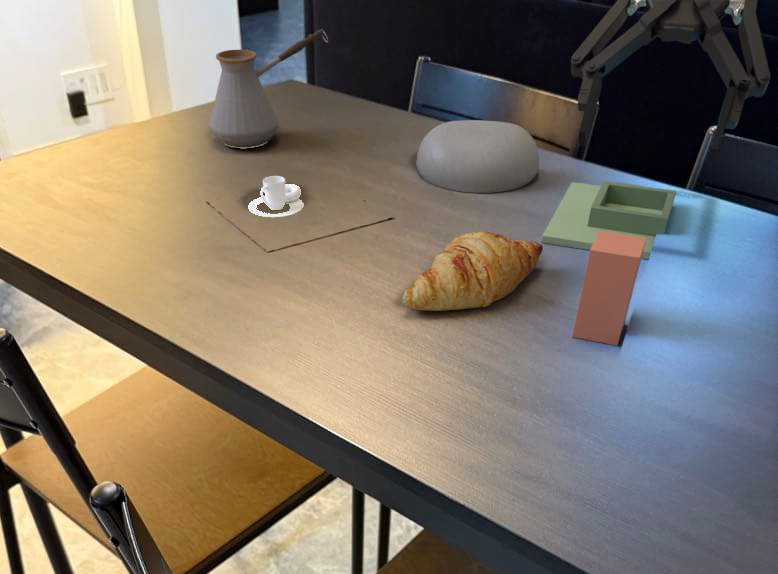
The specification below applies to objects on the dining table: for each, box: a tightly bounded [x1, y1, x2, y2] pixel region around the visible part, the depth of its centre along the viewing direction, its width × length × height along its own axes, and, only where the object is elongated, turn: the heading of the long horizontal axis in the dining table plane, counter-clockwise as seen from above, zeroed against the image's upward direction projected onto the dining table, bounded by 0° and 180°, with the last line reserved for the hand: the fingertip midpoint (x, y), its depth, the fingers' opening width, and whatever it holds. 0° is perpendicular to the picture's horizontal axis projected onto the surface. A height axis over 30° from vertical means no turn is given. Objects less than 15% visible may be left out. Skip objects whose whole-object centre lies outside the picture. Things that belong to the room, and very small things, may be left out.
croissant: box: [402, 230, 543, 312], centre depth 90 cm, size 21×10×8 cm, turn 127°
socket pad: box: [541, 180, 677, 260], centre depth 104 cm, size 20×20×4 cm
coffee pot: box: [208, 28, 330, 147], centre depth 125 cm, size 21×12×15 cm, turn 115°
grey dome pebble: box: [415, 119, 540, 194], centre depth 116 cm, size 19×7×16 cm
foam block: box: [571, 231, 647, 346], centre depth 82 cm, size 5×5×10 cm
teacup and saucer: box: [248, 175, 304, 218], centre depth 108 cm, size 9×8×4 cm
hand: (645, 147), depth 81 cm, fingers open, 13 cm apart
